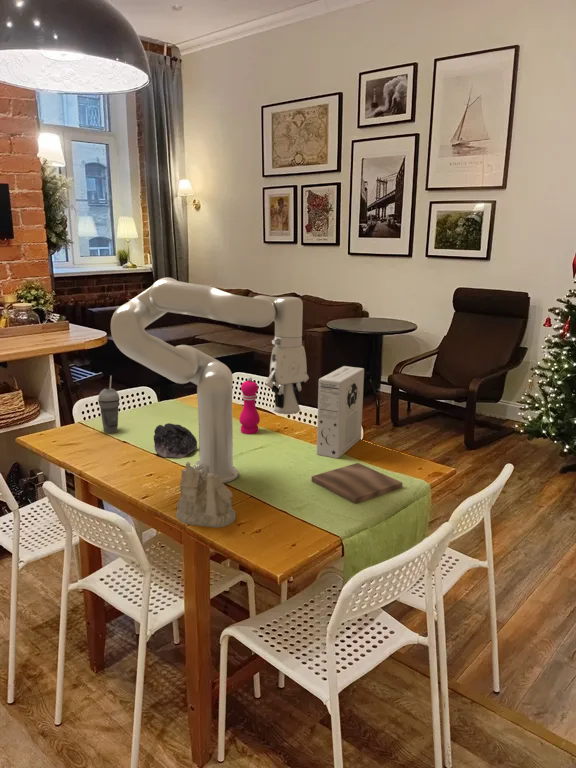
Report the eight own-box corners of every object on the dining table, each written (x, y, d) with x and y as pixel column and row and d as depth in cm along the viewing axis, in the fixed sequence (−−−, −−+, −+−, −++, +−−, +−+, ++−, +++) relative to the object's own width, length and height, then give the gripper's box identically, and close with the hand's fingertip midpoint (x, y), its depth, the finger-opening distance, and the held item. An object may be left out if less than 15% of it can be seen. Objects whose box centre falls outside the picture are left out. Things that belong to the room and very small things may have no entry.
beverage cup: (102, 428, 213) (98, 373, 208) (123, 427, 214) (120, 373, 209) (98, 434, 206) (94, 378, 201) (119, 434, 207) (116, 378, 202)
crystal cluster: (205, 453, 193) (205, 422, 192) (173, 461, 182) (172, 429, 181) (178, 446, 201) (177, 417, 200) (145, 454, 191) (144, 423, 189)
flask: (289, 416, 165) (290, 381, 162) (269, 411, 169) (269, 377, 166) (304, 411, 170) (305, 377, 168) (284, 406, 174) (285, 373, 172)
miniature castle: (223, 531, 140) (221, 470, 138) (163, 521, 146) (161, 462, 144) (251, 508, 155) (250, 452, 152) (195, 499, 161) (194, 445, 158)
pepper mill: (259, 434, 208) (259, 379, 204) (238, 434, 209) (238, 378, 204) (260, 428, 216) (260, 374, 211) (240, 427, 216) (240, 374, 211)
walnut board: (355, 503, 156) (355, 498, 156) (311, 481, 170) (311, 476, 170) (402, 487, 167) (402, 482, 166) (357, 467, 180) (357, 462, 180)
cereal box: (340, 435, 209) (343, 365, 203) (361, 438, 206) (364, 368, 200) (316, 454, 190) (318, 378, 184) (338, 458, 187) (341, 381, 181)
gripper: (271, 347, 157) (270, 413, 161) (320, 341, 167) (318, 404, 171) (255, 342, 163) (254, 407, 167) (303, 337, 173) (302, 398, 177)
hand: (287, 404), depth 169 cm, fingers closed on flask, 4 cm apart
